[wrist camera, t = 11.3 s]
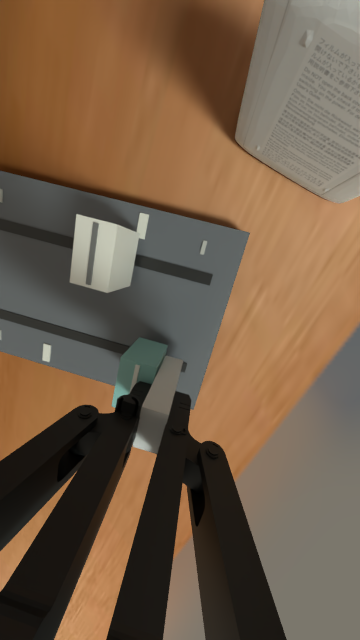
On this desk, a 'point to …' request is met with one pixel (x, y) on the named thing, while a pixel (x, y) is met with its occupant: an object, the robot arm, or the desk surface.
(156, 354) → the teal fader
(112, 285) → the ivory fader
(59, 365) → the console
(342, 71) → the photo printer
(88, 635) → the desk surface
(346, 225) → the desk surface
